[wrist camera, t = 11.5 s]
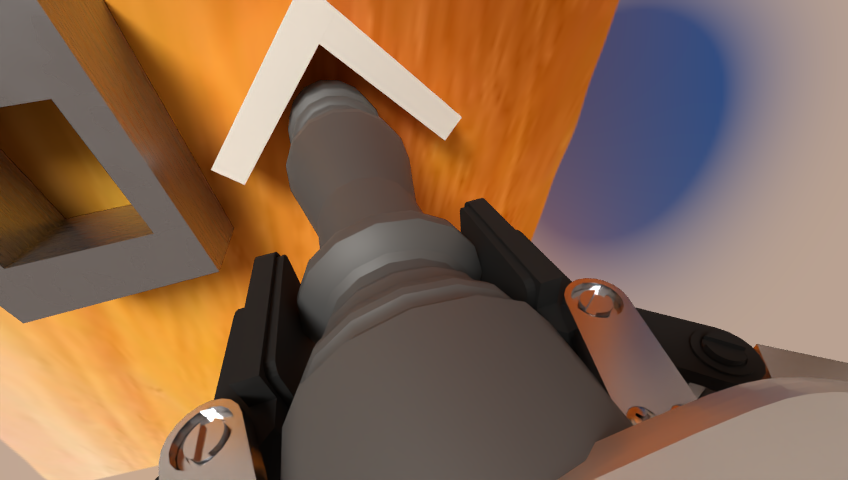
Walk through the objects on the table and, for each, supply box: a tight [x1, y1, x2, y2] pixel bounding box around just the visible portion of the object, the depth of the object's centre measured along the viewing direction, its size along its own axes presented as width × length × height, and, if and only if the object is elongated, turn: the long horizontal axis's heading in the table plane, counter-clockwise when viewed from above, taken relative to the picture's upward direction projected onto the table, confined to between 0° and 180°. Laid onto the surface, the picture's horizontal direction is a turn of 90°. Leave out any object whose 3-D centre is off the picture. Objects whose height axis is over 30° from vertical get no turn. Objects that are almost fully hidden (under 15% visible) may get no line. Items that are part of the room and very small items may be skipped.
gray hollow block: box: [0, 0, 234, 323], centre depth 19 cm, size 16×12×6 cm
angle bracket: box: [211, 0, 462, 185], centre depth 21 cm, size 10×17×5 cm, turn 97°
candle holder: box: [280, 80, 634, 480], centre depth 14 cm, size 6×6×25 cm
